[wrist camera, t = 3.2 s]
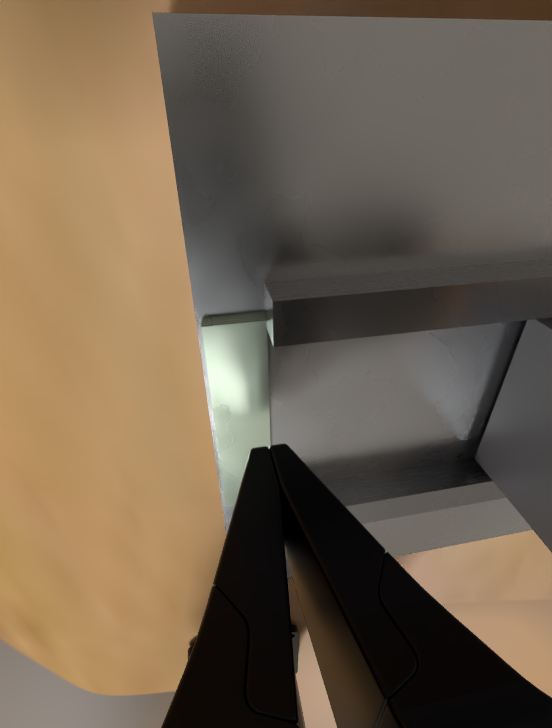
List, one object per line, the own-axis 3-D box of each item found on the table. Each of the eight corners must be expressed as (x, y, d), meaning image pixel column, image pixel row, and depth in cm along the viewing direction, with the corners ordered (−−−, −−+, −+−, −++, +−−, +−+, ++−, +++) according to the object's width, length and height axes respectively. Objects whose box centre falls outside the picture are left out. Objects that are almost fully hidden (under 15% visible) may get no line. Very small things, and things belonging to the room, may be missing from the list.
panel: (619, 452, 20) (706, 520, 16) (227, 518, 17) (236, 617, 13) (887, 50, 11) (1188, 23, 8) (164, 43, 8) (145, -5, 5)
